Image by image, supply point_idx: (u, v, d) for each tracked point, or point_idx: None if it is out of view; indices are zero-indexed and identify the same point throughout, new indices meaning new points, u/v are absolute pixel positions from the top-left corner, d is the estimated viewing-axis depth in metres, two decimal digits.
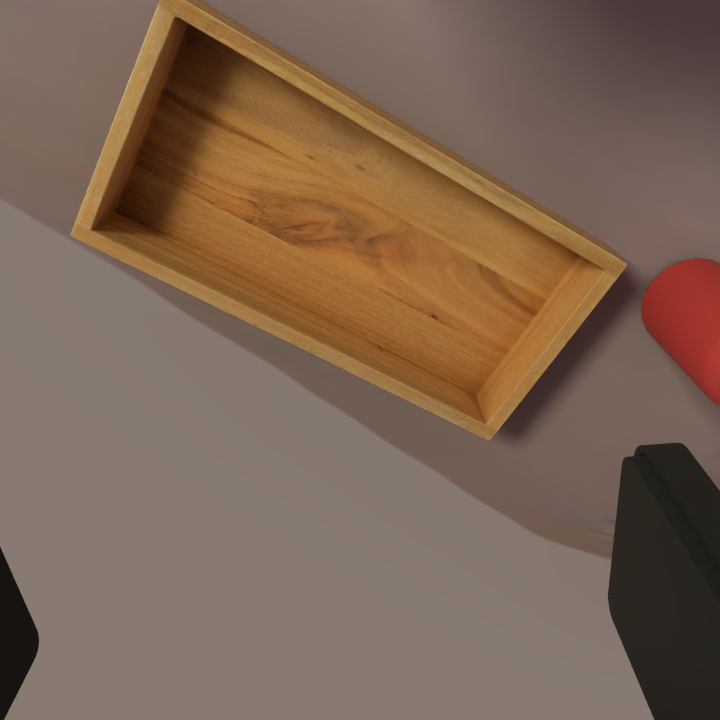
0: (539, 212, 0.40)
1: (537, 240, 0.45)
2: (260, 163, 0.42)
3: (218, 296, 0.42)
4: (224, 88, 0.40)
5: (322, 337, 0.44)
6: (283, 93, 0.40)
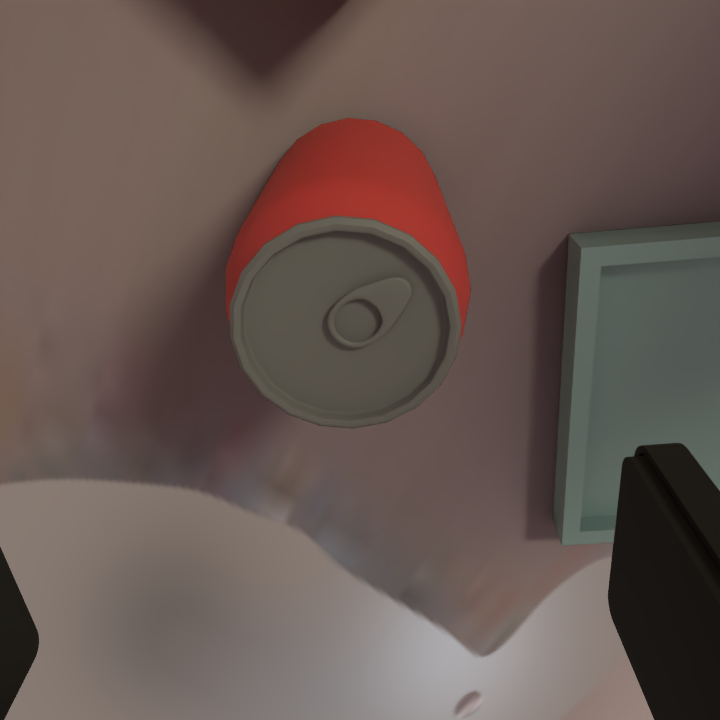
0: None
1: None
2: None
3: None
4: None
5: None
6: None
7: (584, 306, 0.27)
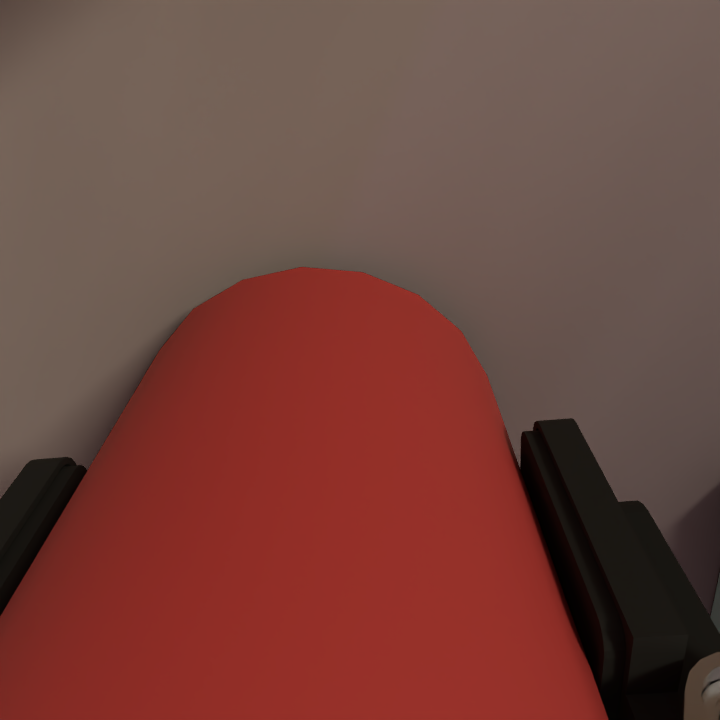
0: None
1: None
2: None
3: None
4: None
5: None
6: None
7: None
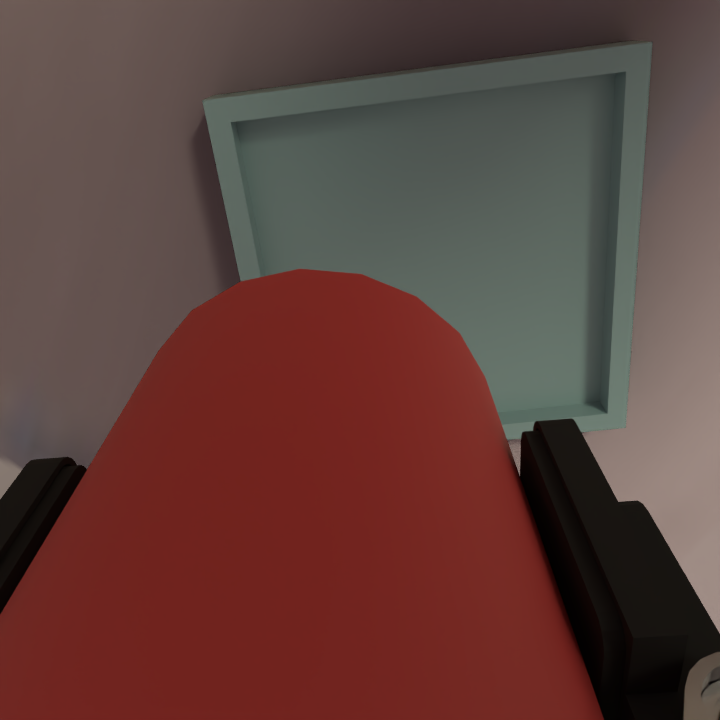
0: None
1: None
2: None
3: None
4: None
5: None
6: None
7: (225, 172, 0.24)
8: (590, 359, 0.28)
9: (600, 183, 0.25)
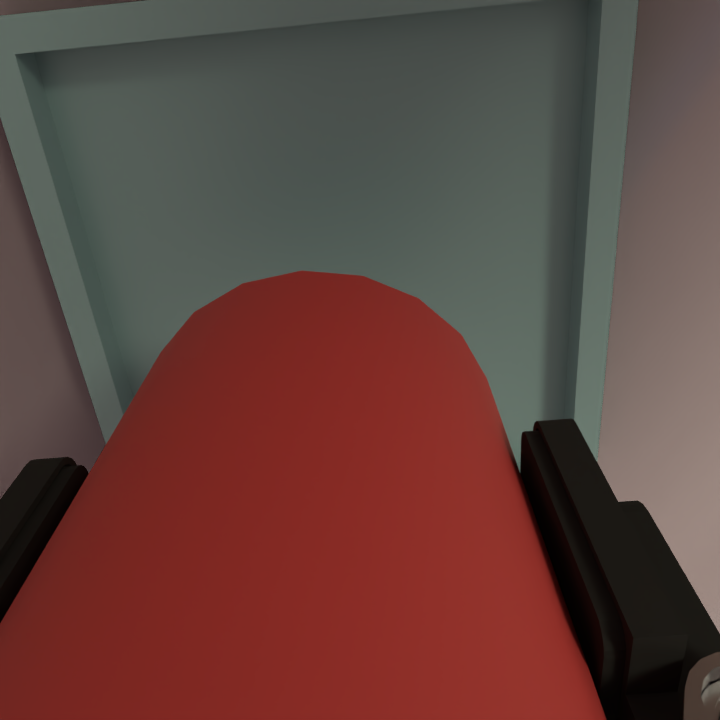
0: None
1: None
2: None
3: None
4: None
5: None
6: None
7: (16, 130, 0.16)
8: (549, 404, 0.21)
9: (565, 164, 0.17)
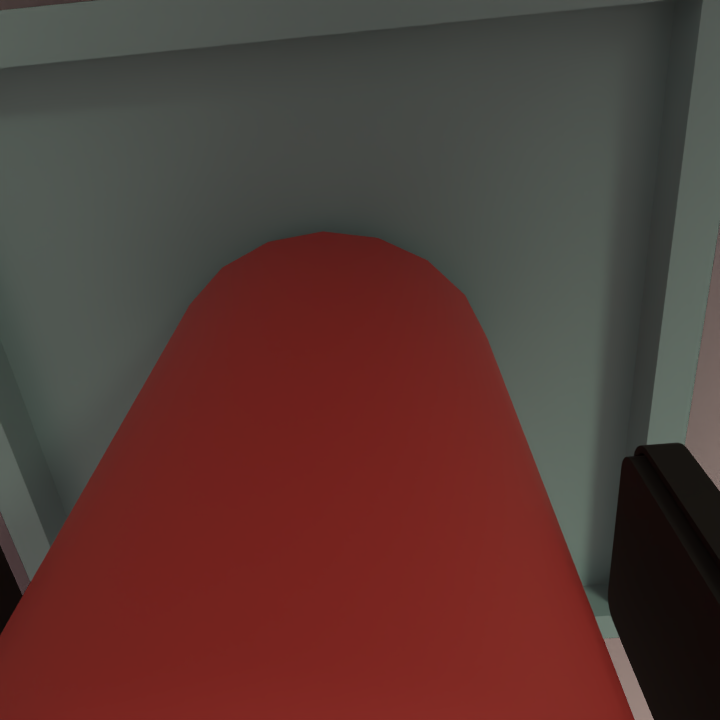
0: None
1: None
2: None
3: None
4: None
5: None
6: None
7: None
8: (598, 521, 0.16)
9: (631, 226, 0.13)
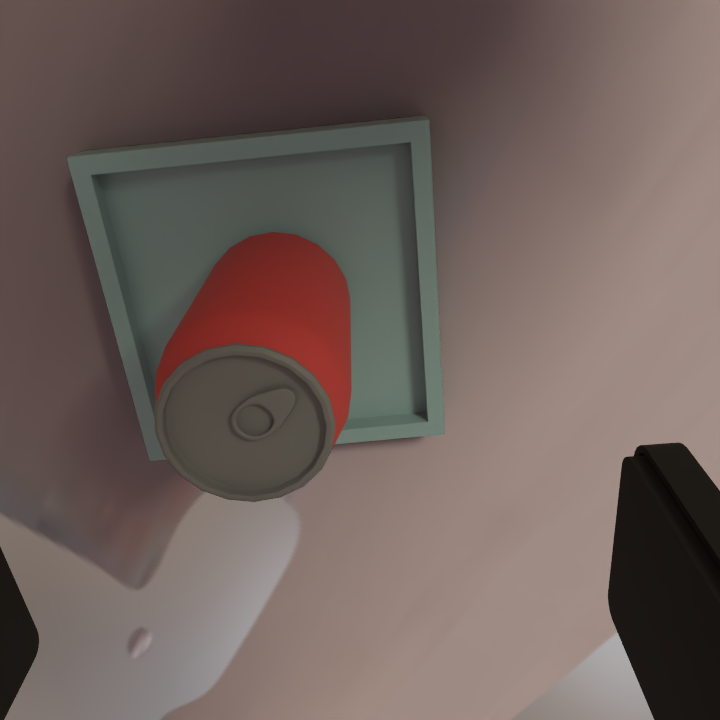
0: None
1: None
2: None
3: None
4: None
5: None
6: None
7: (88, 215, 0.29)
8: (414, 375, 0.33)
9: (406, 229, 0.30)
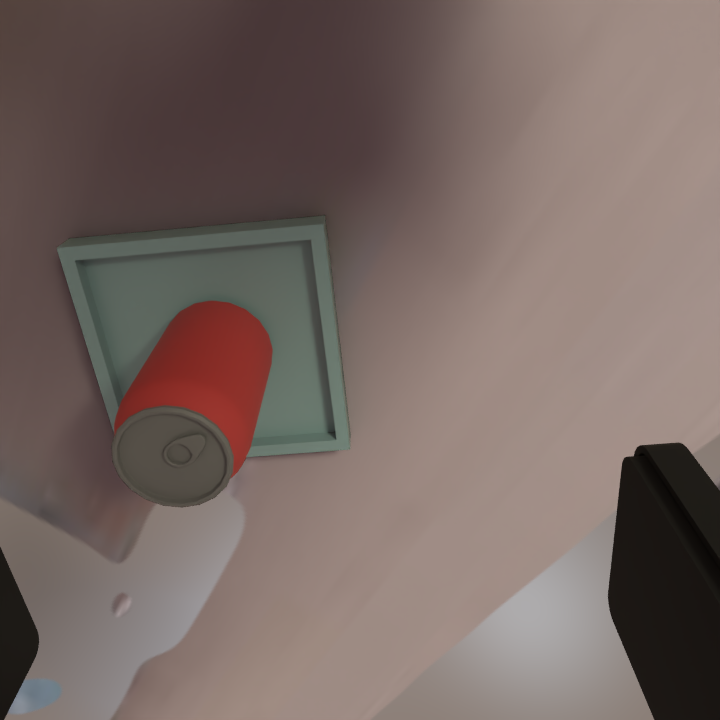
0: None
1: None
2: None
3: None
4: None
5: None
6: None
7: (73, 288, 0.38)
8: (326, 404, 0.43)
9: (313, 298, 0.40)
